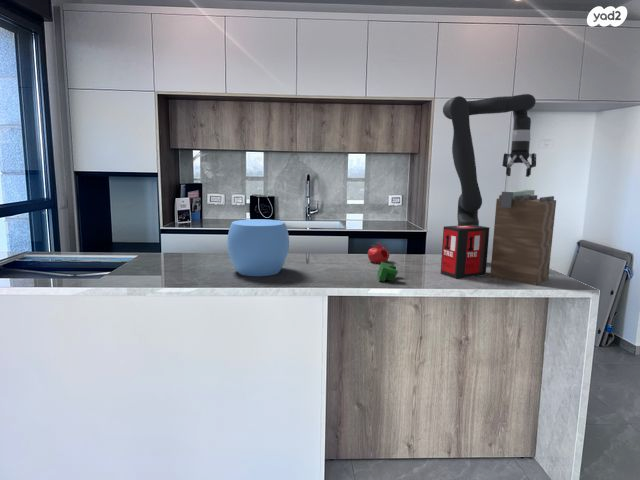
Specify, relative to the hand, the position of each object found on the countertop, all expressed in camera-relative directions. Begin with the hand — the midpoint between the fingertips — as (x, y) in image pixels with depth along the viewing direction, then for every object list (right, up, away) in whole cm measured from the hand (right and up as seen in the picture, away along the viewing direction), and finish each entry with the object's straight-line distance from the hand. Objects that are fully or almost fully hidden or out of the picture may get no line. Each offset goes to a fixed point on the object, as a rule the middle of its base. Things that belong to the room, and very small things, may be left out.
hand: (518, 176), depth 213 cm
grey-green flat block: (-9, -12, -23) cm, 28 cm away
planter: (-116, -42, -22) cm, 126 cm away
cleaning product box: (-31, -44, -20) cm, 57 cm away
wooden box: (-10, -45, -25) cm, 52 cm away
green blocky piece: (-65, -45, -30) cm, 84 cm away
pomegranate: (-64, -40, +1) cm, 76 cm away
